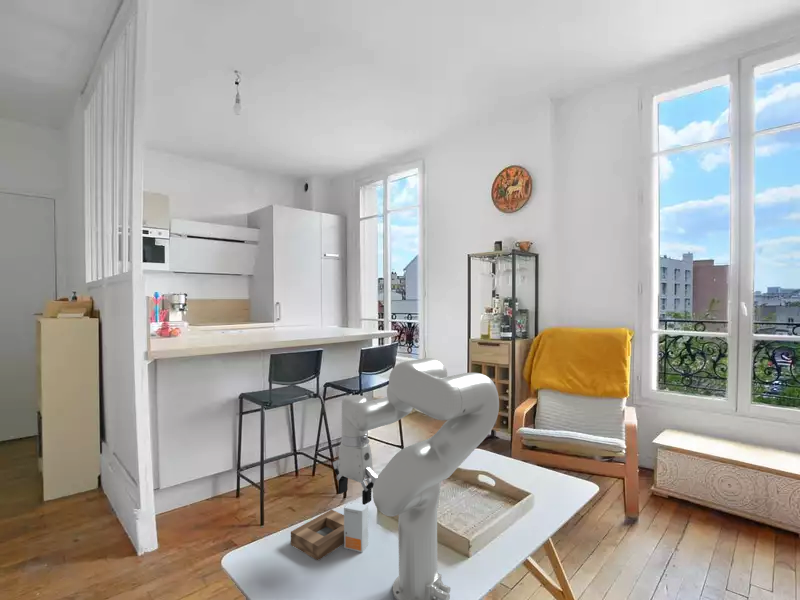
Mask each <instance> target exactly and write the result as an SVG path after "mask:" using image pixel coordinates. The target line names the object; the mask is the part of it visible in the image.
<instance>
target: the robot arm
mask: <svg viewBox="0 0 800 600" xmlns="http://www.w3.org/2000/svg"><path fill="white" fill-rule="evenodd" d="M388 377H389V378H388V384H387V386H386V395H387V396H385V397H380V398H376V399H372V400H368V399H367V398H366V397H365V396H363V395H359V394H353V395H347V396H345V397H343V399H342V402H341V442H340V445H339V451H338V459H337V460H335V461H332V466H333V469H334V473H335V476H336V480H337V484H338V487H337V488H338V490H337V492H338V493H337V494H339V495H341V494H343V493H346V492H347V491H348V479H349V480H353V481H354V482H357V483H360V484H361V487H362V488H363V490H361V491H362V493H361V494H362V495H361V497H362V499H361V501H362V503H361V504H364V505H365V504H366V505H368V504H369V503H370V502H372V499H373V503H374V505H375V508H376V509H377V510H378V512H380V513H381V514H383V515H384V516H388V517H396V516H398V527H397V528H398V532H397V533H398V534H397V535H398V540H397V541H398V576H397V577H396V578H395V580H394V581H393V585H392V593H393V597H394V598H395V600H451V595H450V593H451V587H450V586H448V585H446V584H445V583H444V582H443V581H442V574H441V573H439V572H438V507H439V499H440V493H441V487H442V484H441V483H442V482H444V481H445V480H447V479H448V478H450V477H451V476H452V474H454V473H455V471H456V470H457V469H458V468H459V467H460V466H461V465H462V463H464V462H465V460H467V459H468V458H469V456H471V454H473V452H474V451H475V450H476V449H477V448H478V447H479V445H480V444H481V443H483V441H484V440H485V439H486V438H487V437H488V435H489V434H490V432H492V430H493V428H494V426H495V424H496V423H497V419H498V416H499V409H500V398H499V393H498V389H497V386H496V384H495V382H494V381H493V380H492V379H491V378H490V377H489V376H487V375H485V374H484V373H479V372H464V373H459V374H455V375H454V374H453V375H450V376H448V371H447V368H446V366H445V365H444V364H443V363H442V362H441V361H440V360H437V359H435V358H432V357H431V358H429V357H427V358H420V359H419V358H418V359H412V360H407V361H403V362H400V363H398V364H396V365H395V366H394V367H393V368H392V369H391V371H390V372H389V376H388ZM413 409H415V410H417V411H419V412H420V413H422V414H425V415H426V416H428V417H430V418H433V419H435V420H439V421H445V422H444V423H443V424H442V425H441V426H440V428H439V429H438V431H437V432H436V433H434V434H433V435H432V436H430V437H429V438H427V439H425V440H422V441H420V442H417V443H414V444H411V445H408V446H405V447H403V448H402V449H401V450H399V451H397V452H396V454H394V455H393V457H392V458H391V459H390V460H389V462H388V463H387V464H386V466H385V467H384V468H383V469H382V470H381V472H379V474H376V473H375V472H374V470H373V469H374V468H373V456H372V450H371V445H370V438H369V437H368V434H369V432H368V431H371V430H374V429H375V430H376V429H378V428H381V427H384V426H388V425H391V424H395V423H396V422H398V421H400V420H401V419H403V418H405V417H406V416H408V415H410V414H411V412H412V411H413Z"/></svg>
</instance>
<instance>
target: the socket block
mask: <svg viewBox="0 0 800 600" xmlns="http://www.w3.org/2000/svg"><path fill="white" fill-rule="evenodd" d="M291 545H292V546H291ZM290 546H291V547H293V546H294V547H293V548H295V549H297V550H299V551H300V552H302V553H304V554H305V555H308V556H309V557H310V558H312V559H314V560H315V561H320V560H321V559H324V557H326V556H328V555H330V554H331V553H333V552H334V551H336V550H337V549H338V548H340V547H342V546H344V513H340V512H339V511H336V510H333V509H330V510H328V511H326V512H324V513H323V514H321V515H319V516H317V517H315V518H313V519H312V520H310V521H308V522H306V523H304V524H303V525H300V526H299V527H297V528H295V529H293V530H291V531H290Z"/></svg>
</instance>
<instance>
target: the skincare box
mask: <svg viewBox="0 0 800 600" xmlns="http://www.w3.org/2000/svg"><path fill="white" fill-rule="evenodd" d="M343 515H344V544H343V548H344V549H346V550H351V551H355V552H359V553H364V551H365V550H366V549H367V547H368V546H369V505H368V504H365V505H364V504H363V503H361V502H353V501H349V502H348V503H346V506H344V508H343Z"/></svg>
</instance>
